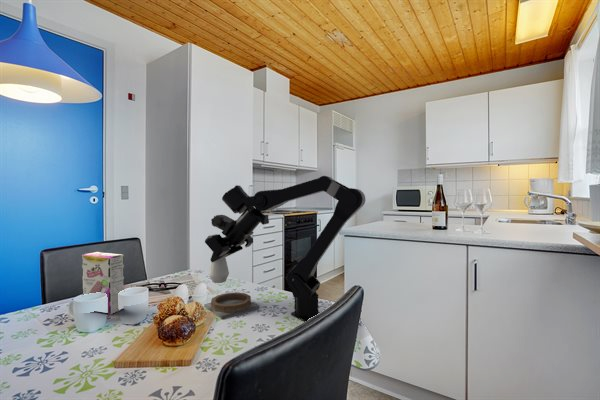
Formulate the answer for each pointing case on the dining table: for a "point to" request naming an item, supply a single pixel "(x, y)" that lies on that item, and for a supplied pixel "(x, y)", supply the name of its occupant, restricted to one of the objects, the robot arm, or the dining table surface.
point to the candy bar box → (104, 276)
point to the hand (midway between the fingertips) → (215, 259)
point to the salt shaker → (219, 270)
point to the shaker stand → (231, 304)
